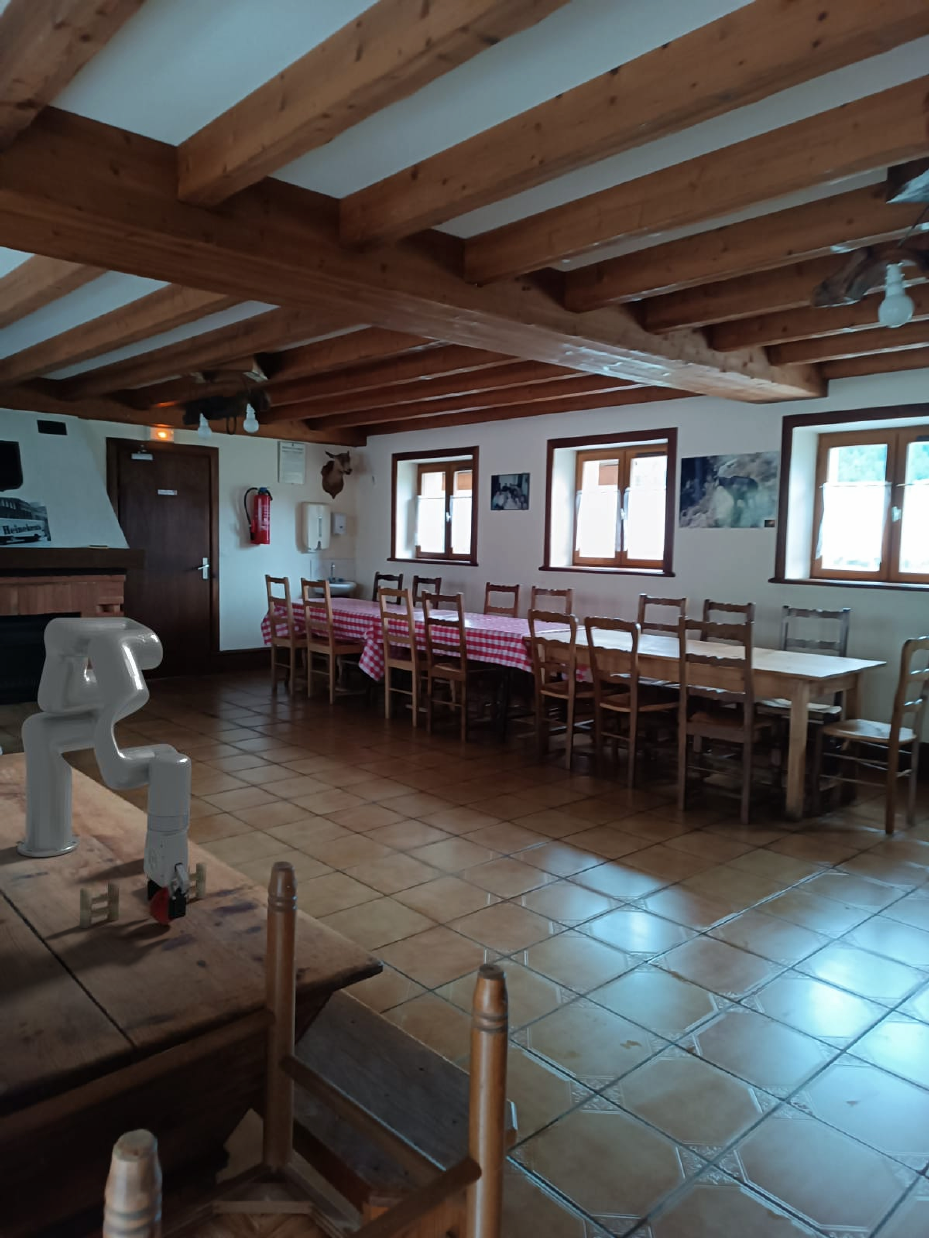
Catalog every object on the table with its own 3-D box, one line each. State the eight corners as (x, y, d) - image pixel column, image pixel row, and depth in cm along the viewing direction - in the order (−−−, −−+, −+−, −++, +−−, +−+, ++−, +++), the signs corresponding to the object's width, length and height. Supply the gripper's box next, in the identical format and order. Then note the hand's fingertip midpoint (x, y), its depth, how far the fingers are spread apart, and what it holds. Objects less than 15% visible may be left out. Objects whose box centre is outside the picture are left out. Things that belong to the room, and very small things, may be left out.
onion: (188, 921, 163) (189, 881, 162) (168, 934, 157) (169, 892, 157) (162, 915, 165) (164, 875, 164) (142, 927, 159) (143, 886, 158)
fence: (78, 924, 159) (78, 888, 158) (202, 894, 175) (203, 861, 175) (81, 928, 157) (82, 892, 157) (207, 897, 174) (208, 864, 173)
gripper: (131, 810, 163) (128, 896, 165) (167, 837, 150) (165, 930, 152) (169, 804, 168) (166, 888, 170) (207, 830, 155) (204, 920, 157)
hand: (165, 908), depth 161 cm, fingers open, 9 cm apart
